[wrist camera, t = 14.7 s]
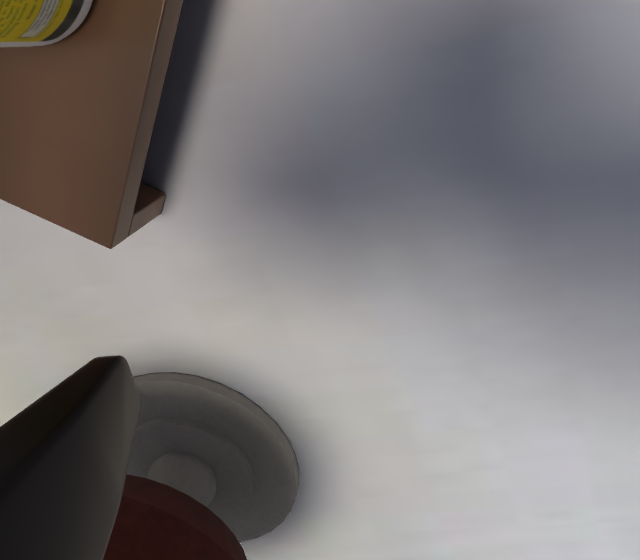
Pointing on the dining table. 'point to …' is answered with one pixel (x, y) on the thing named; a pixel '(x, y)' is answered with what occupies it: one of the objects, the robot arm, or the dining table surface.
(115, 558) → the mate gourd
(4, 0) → the supplement bottle
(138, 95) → the shelf
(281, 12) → the dining table surface
